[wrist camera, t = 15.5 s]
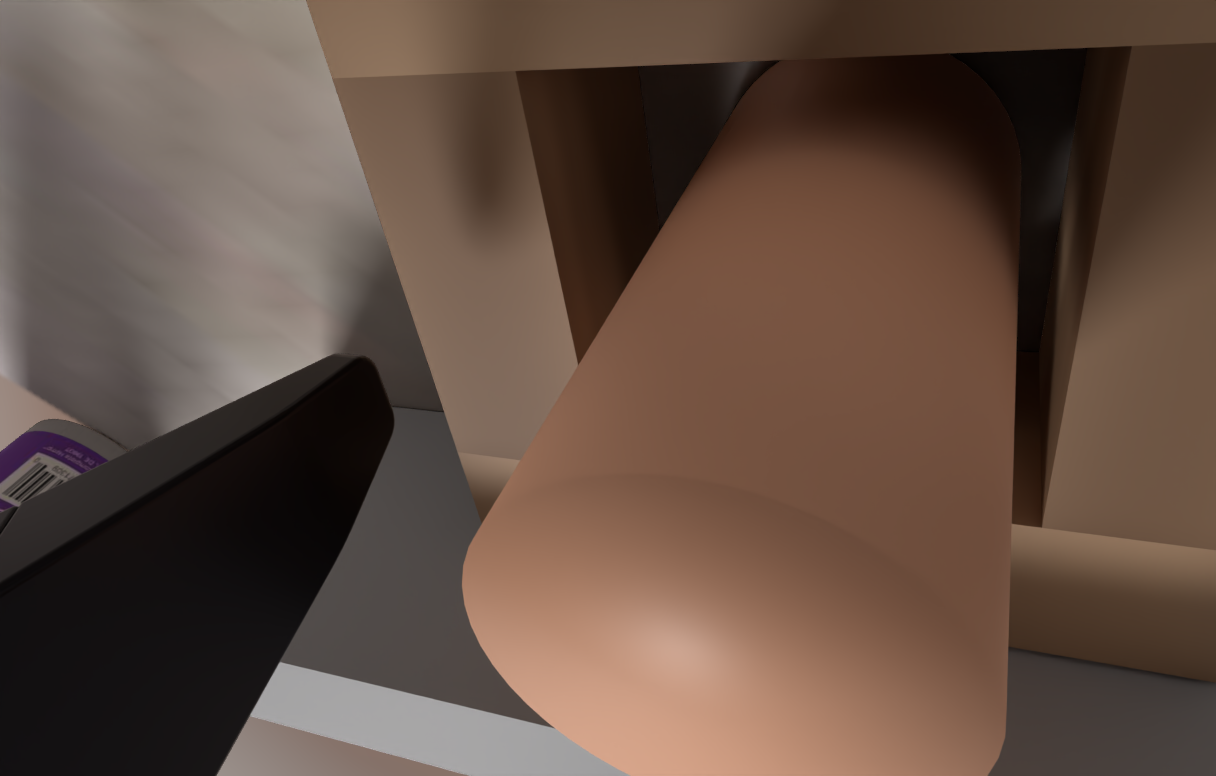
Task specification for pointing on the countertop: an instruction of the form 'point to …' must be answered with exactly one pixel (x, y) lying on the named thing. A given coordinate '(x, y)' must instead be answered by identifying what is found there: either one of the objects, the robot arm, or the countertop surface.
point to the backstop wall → (541, 755)
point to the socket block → (628, 225)
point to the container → (50, 458)
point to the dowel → (787, 453)
